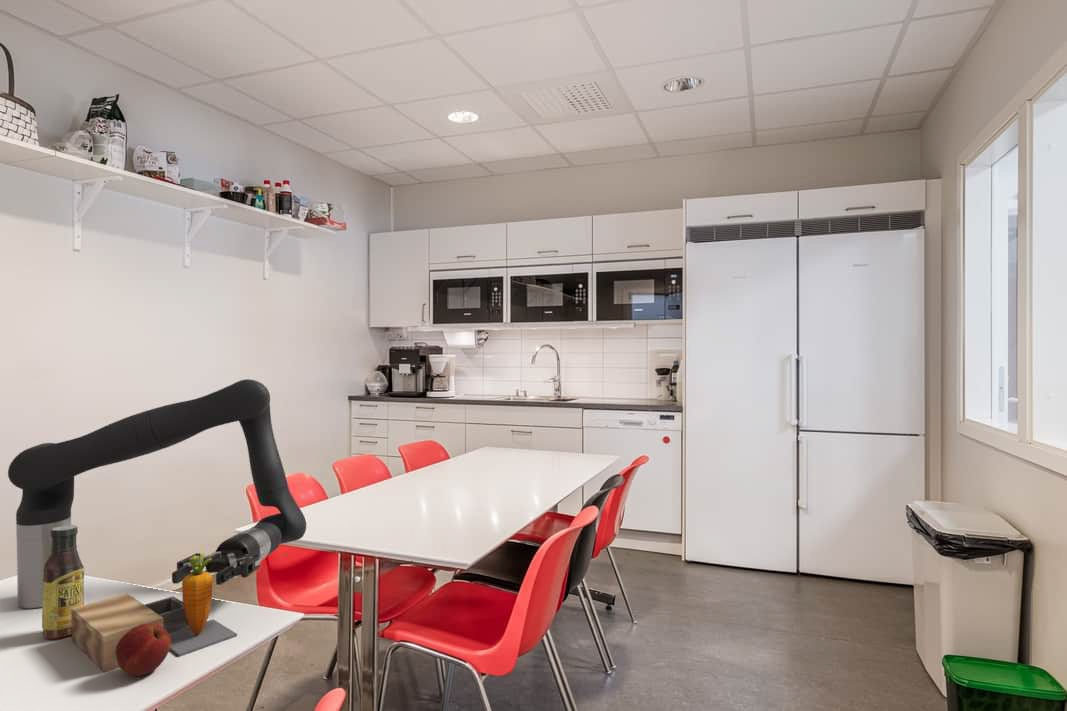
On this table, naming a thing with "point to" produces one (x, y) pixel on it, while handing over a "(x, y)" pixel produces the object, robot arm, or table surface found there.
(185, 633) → the rubber mat
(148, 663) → the apple
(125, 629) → the wooden drawer box
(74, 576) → the sauce bottle
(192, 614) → the carrot
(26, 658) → the table surface
